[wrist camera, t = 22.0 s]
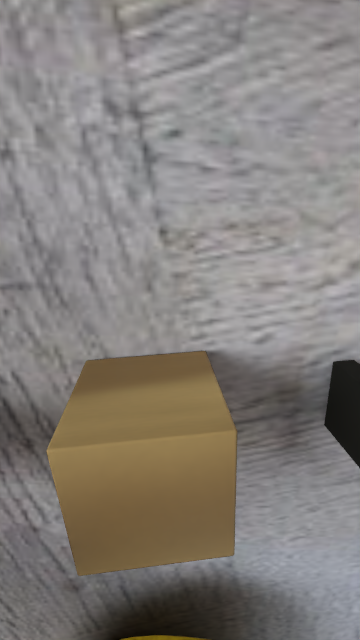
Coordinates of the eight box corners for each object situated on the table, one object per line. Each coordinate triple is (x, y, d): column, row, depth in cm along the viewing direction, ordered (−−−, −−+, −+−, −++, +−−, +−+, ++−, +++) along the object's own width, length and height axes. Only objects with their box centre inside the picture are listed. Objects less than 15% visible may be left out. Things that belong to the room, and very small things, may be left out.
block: (85, 360, 10) (44, 451, 6) (205, 350, 10) (238, 431, 6) (102, 454, 11) (77, 577, 7) (207, 444, 11) (234, 556, 8)
